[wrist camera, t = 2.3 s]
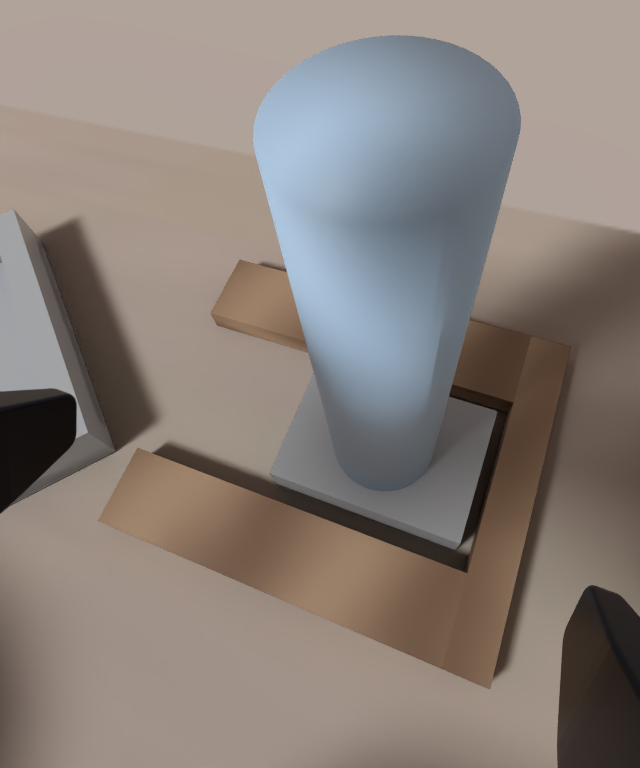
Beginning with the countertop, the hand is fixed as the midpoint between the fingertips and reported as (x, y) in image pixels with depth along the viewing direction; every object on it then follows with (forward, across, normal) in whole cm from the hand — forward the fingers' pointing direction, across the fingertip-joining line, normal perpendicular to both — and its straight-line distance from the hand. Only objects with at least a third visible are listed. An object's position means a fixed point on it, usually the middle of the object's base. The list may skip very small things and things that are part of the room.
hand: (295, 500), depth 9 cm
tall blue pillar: (+11, 0, +5) cm, 12 cm away
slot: (+11, +2, +5) cm, 12 cm away
